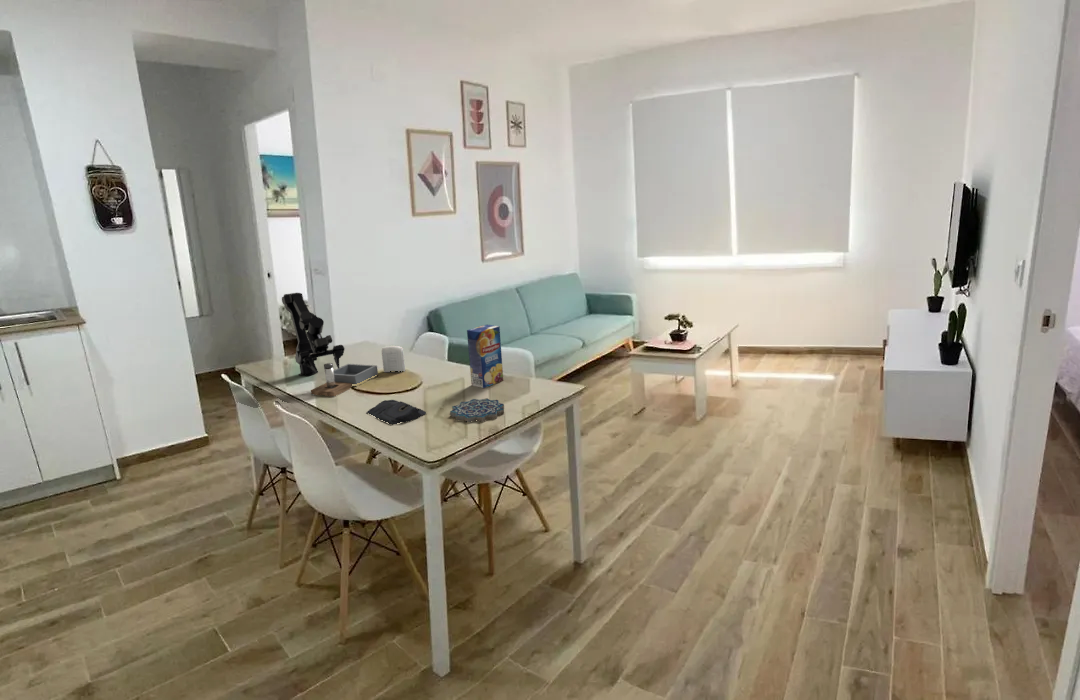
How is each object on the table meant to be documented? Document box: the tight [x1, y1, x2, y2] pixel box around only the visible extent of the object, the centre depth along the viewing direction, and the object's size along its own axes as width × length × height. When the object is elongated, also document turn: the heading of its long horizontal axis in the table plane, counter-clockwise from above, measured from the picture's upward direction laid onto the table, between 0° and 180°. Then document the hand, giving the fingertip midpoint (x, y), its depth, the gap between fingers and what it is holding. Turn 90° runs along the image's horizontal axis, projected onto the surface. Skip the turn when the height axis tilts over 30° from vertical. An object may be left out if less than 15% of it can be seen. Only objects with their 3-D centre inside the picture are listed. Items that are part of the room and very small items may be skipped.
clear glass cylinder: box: [323, 362, 336, 389], centre depth 262 cm, size 4×4×12 cm
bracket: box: [310, 382, 353, 397], centre depth 263 cm, size 12×12×2 cm
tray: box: [333, 363, 379, 384], centre depth 277 cm, size 16×16×5 cm
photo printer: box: [381, 345, 406, 373], centre depth 286 cm, size 10×4×12 cm, turn 85°
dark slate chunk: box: [366, 399, 427, 425], centre depth 232 cm, size 15×22×5 cm
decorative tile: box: [449, 397, 505, 423], centre depth 229 cm, size 20×20×2 cm
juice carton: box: [466, 324, 504, 389], centre depth 260 cm, size 12×8×24 cm, turn 140°
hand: (328, 370), depth 262 cm, fingers open, 9 cm apart
